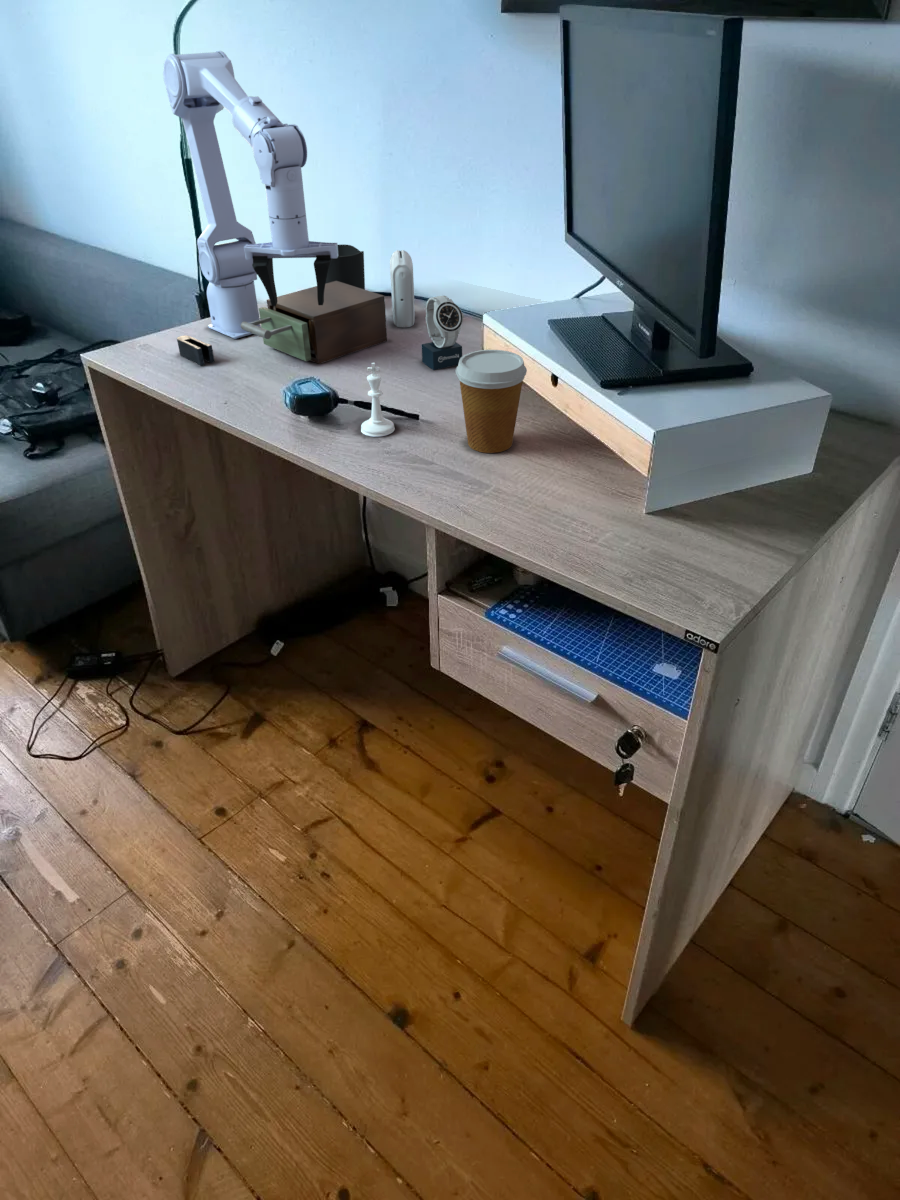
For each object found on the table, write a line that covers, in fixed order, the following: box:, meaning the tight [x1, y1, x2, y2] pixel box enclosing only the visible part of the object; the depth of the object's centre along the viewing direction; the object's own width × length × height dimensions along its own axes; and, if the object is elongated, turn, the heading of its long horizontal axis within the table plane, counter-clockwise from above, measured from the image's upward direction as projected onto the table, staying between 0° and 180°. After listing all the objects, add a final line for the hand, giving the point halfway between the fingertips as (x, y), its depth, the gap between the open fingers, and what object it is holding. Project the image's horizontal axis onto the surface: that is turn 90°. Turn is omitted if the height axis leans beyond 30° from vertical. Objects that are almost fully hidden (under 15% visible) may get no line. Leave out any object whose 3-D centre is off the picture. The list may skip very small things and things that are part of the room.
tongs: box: [176, 335, 215, 367], centre depth 148 cm, size 8×3×3 cm, turn 45°
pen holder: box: [325, 244, 366, 290], centre depth 171 cm, size 9×9×10 cm
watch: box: [421, 295, 465, 371], centre depth 142 cm, size 6×8×11 cm
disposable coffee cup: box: [455, 349, 528, 454], centre depth 117 cm, size 10×10×12 cm
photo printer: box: [389, 249, 416, 328], centre depth 161 cm, size 10×4×12 cm, turn 4°
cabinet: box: [266, 281, 388, 364], centre depth 152 cm, size 16×14×8 cm
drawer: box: [241, 306, 315, 362], centre depth 149 cm, size 20×12×6 cm, turn 135°
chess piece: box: [360, 362, 396, 438], centre depth 122 cm, size 5×5×10 cm
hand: (297, 303), depth 140 cm, fingers open, 7 cm apart
